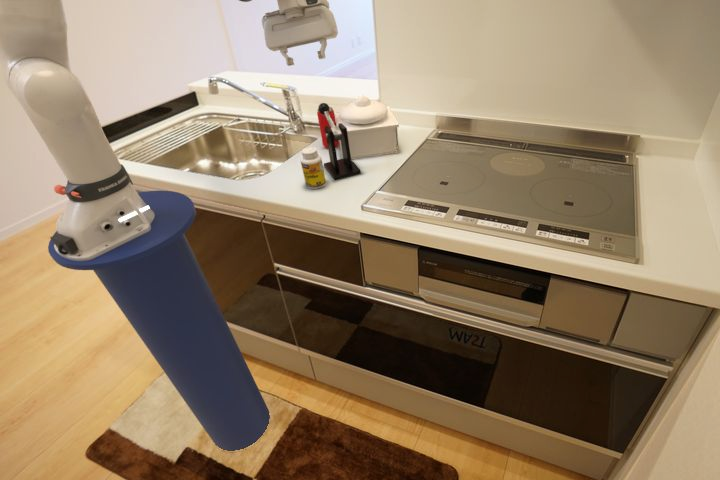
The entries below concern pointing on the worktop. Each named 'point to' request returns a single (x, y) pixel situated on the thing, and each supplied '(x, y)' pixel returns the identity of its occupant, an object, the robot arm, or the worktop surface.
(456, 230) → the worktop surface
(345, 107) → the white box with dome
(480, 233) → the worktop surface
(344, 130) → the bracket
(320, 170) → the supplement bottle
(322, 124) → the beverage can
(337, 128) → the tap lever
